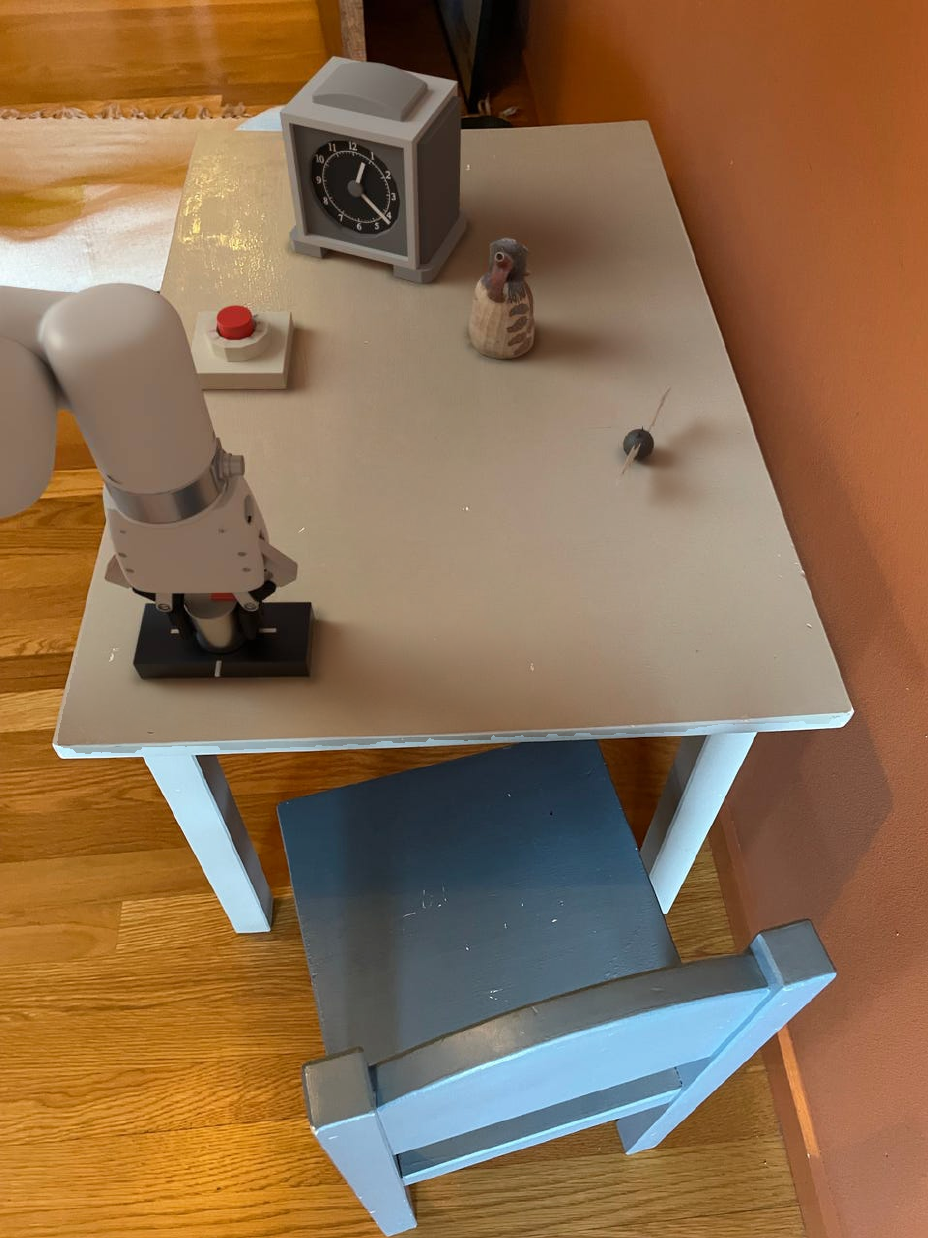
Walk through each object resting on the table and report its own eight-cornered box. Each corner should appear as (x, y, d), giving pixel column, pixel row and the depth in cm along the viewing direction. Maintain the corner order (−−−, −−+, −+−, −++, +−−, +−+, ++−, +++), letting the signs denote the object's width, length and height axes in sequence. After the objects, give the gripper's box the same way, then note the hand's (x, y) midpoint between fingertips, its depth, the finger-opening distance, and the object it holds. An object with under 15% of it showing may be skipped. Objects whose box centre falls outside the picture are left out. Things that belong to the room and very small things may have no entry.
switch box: (190, 389, 95) (180, 358, 91) (203, 327, 100) (195, 296, 97) (286, 389, 95) (280, 358, 92) (294, 327, 101) (288, 296, 97)
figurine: (544, 331, 101) (555, 232, 91) (516, 368, 97) (524, 270, 87) (487, 310, 103) (492, 212, 93) (457, 347, 99) (459, 248, 89)
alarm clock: (287, 249, 108) (261, 90, 93) (333, 192, 115) (317, 34, 100) (429, 285, 105) (427, 125, 90) (469, 223, 112) (472, 66, 97)
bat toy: (675, 413, 94) (686, 377, 90) (622, 510, 87) (630, 476, 83) (648, 403, 95) (657, 368, 91) (593, 499, 87) (600, 464, 83)
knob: (193, 654, 74) (177, 617, 69) (200, 609, 76) (186, 571, 72) (247, 653, 74) (235, 617, 69) (253, 609, 76) (241, 571, 72)
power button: (217, 341, 94) (214, 327, 92) (222, 318, 96) (218, 304, 94) (252, 341, 94) (249, 327, 92) (256, 318, 96) (253, 304, 94)
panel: (138, 693, 75) (128, 676, 72) (155, 607, 79) (147, 589, 77) (308, 691, 75) (304, 674, 73) (316, 605, 80) (312, 587, 77)
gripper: (299, 429, 61) (327, 587, 77) (47, 430, 61) (126, 589, 76) (289, 514, 57) (322, 663, 72) (19, 515, 57) (108, 665, 72)
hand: (221, 624), depth 74 cm, fingers closed on knob, 4 cm apart
